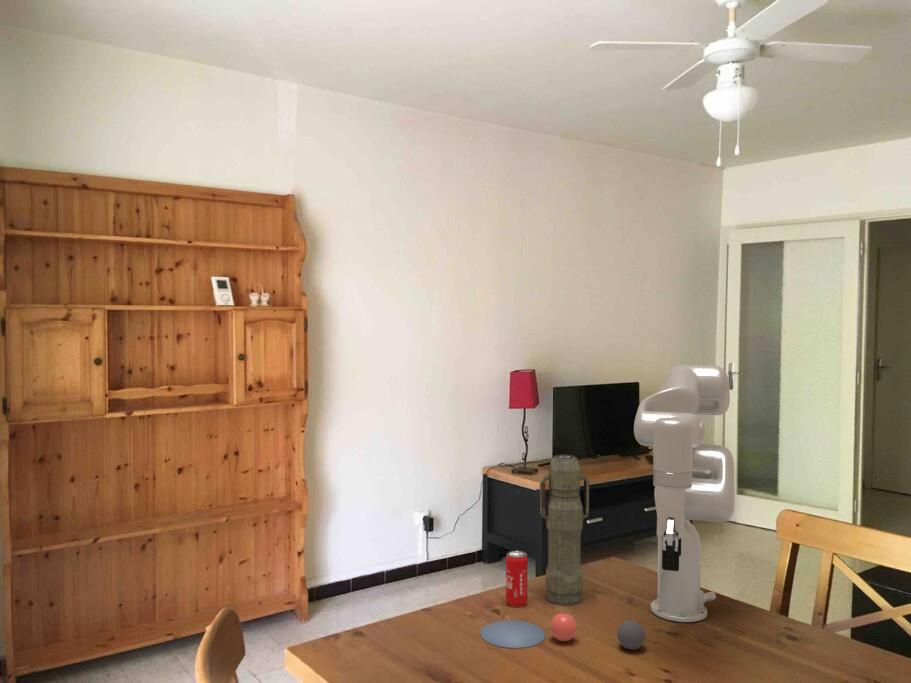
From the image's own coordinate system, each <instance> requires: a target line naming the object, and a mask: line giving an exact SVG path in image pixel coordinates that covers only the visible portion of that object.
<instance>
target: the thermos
mask: <svg viewBox="0 0 911 683" xmlns="http://www.w3.org/2000/svg"><path fill="white" fill-rule="evenodd" d="M548 467H549V468H548V474H547V475H543V477H542V478H541V480H540V481H539V482H540V485H539V487H540V488H539V493H540V494H539V500H540V501H539V504H540V505H539V506H540V507H539V514H540V515H541V517H542V518H543V519H545V521H546V522H545V523H546V524H545V526H546V529H547V531H548V532H547V535H548V536H547V539H548V540H547V544H548V545H547V549H548V550H547V563H548V564H547V566H546V569H545V589H546V594H545V595H546V600H547V601H548V603H551V604H554V605H558V606H575V605H578V604H580V603H581V602H582V601H583V598H582V597H583V596H582V595H583V594H582V592H583V590H584V589H583V585H584V584H583V582H584V581H583V578H584V577H583V576H584V574H583V570H582V568H581V547H582V546H581V543H582V542H581V536H582V534H581V533H582V530H583V526H584V525H583V523H584V522H583V521H584V520H585V518H586V519H587V518H589V514H590V513H589V512H590V480H589V479H588V478H587V476H586V475H585V474H581V467H580V464H579V460H578V458H577V457H575V456H574V455H572V454H555V455H554V456H553V457H551V460H550V463H549V466H548ZM547 481H548V489H549V493H548V499H547V502H546V482H547ZM581 481H583V504H582V501H581V493H580V490H581Z"/></svg>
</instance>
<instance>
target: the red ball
mask: <svg viewBox="0 0 911 683" xmlns="http://www.w3.org/2000/svg"><path fill="white" fill-rule="evenodd" d="M577 631H578V625H577V622H576V619H574V617H573V616H572V615H570V614H568V613H566V612H565V613H564V612H563V613H562V612H560V613H558V614H556V615H554V616H553V618H552V619H551V621H550V632H551V635H552V636H553V637H554V638H555V639H556V640H558V641H559V642H569V641H571V640H572V639H573V638H574V637H575V636H576V634H577Z"/></svg>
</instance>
